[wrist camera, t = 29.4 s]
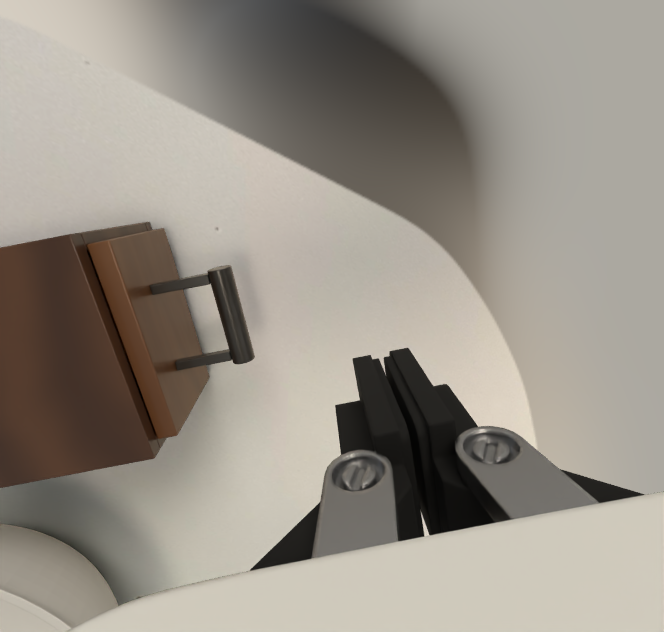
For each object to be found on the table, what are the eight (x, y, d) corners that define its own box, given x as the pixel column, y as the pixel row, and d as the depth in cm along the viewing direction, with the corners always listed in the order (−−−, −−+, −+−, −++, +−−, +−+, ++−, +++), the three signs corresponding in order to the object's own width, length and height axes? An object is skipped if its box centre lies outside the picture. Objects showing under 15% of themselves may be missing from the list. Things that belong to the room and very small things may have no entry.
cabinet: (149, 221, 28) (70, 234, 19) (200, 381, 32) (154, 458, 22) (-54, 260, 28) (-236, 293, 19) (20, 416, 32) (-100, 507, 22)
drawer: (233, 214, 27) (205, 221, 20) (271, 365, 31) (259, 420, 23) (-28, 264, 27) (-157, 291, 20) (39, 410, 31) (-49, 479, 23)
